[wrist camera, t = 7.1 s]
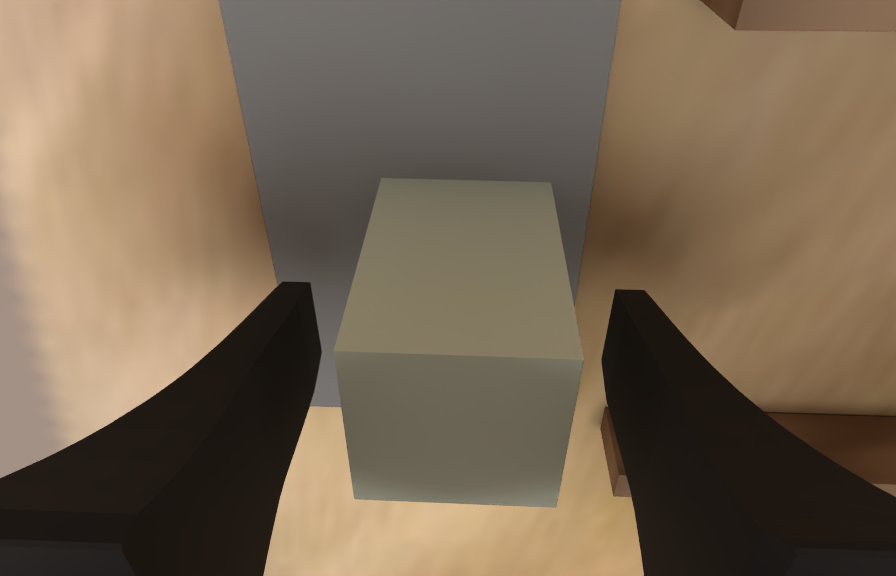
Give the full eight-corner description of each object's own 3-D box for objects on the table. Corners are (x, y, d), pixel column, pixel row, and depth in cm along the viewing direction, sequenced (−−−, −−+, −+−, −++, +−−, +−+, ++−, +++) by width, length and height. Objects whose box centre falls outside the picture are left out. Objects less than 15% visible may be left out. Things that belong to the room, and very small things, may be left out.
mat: (618, -6, 13) (620, -2, 12) (557, 406, 20) (558, 413, 20) (222, -8, 13) (217, -5, 13) (304, 398, 20) (302, 406, 20)
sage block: (551, 181, 15) (584, 359, 10) (535, 314, 17) (556, 507, 12) (381, 178, 15) (333, 350, 10) (389, 309, 17) (354, 499, 13)
